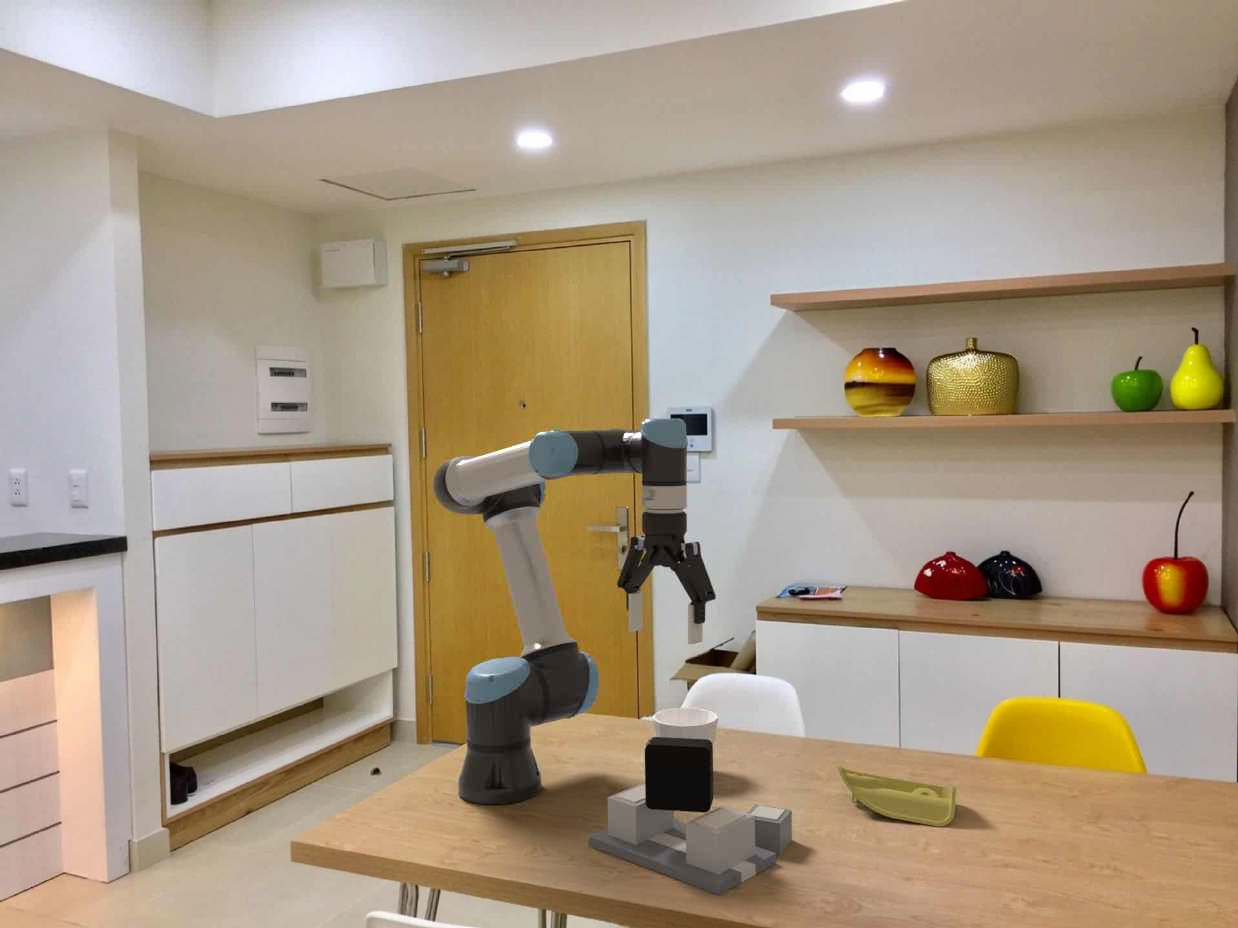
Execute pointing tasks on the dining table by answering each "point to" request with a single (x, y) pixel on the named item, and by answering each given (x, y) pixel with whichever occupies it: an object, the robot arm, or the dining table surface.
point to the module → (772, 827)
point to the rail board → (683, 842)
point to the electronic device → (679, 774)
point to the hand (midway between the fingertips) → (664, 636)
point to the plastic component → (902, 798)
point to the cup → (686, 723)
